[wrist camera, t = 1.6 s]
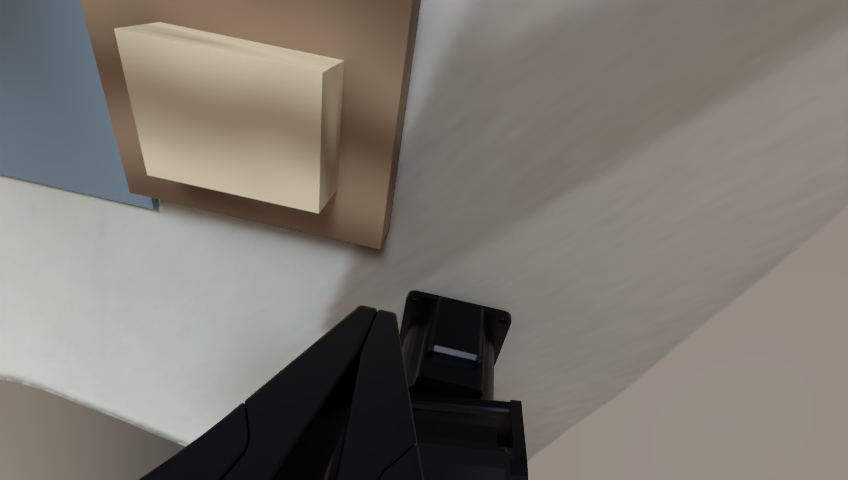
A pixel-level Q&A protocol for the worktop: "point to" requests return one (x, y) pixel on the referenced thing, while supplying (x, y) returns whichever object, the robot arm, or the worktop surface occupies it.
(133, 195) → the rubber mat
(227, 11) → the walnut board
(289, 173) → the beech tile
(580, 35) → the worktop surface
